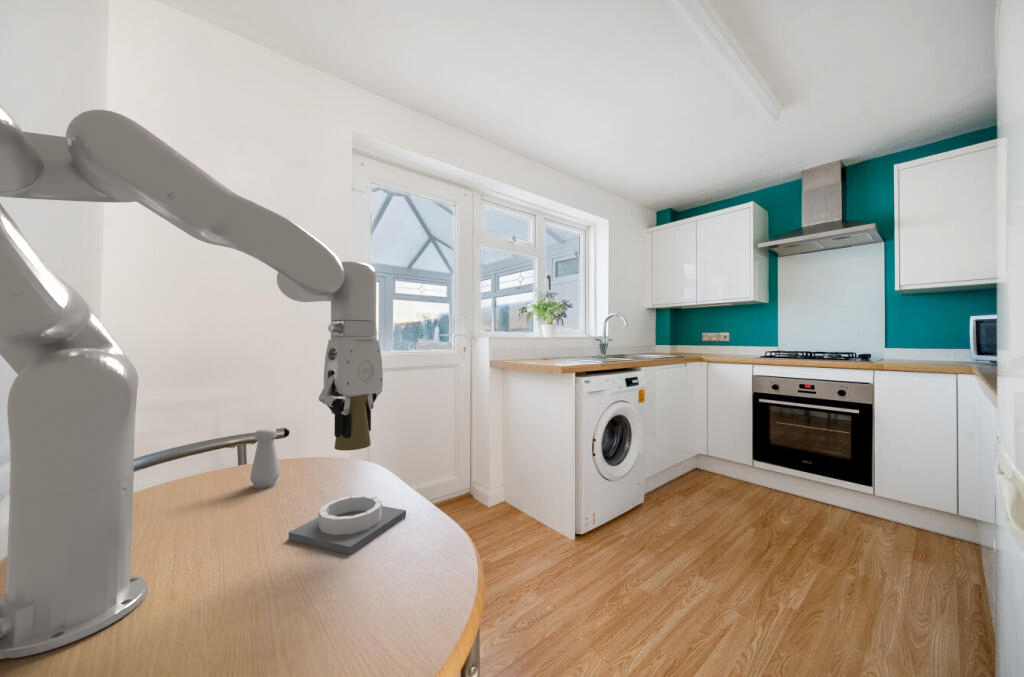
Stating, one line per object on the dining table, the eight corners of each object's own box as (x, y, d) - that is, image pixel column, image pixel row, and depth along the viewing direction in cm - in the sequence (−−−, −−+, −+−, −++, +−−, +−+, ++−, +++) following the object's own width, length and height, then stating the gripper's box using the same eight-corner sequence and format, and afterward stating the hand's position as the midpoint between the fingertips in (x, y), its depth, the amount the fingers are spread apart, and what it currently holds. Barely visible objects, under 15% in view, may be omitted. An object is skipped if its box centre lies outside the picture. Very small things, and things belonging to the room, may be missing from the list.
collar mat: (350, 554, 57) (350, 530, 57) (288, 539, 62) (288, 517, 62) (405, 516, 70) (406, 496, 70) (351, 506, 75) (352, 487, 75)
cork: (376, 441, 69) (377, 382, 70) (360, 450, 63) (360, 386, 64) (346, 441, 70) (346, 382, 70) (326, 450, 64) (327, 385, 64)
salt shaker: (284, 484, 87) (285, 428, 88) (257, 491, 82) (258, 432, 83) (272, 479, 90) (273, 425, 91) (245, 486, 85) (246, 429, 86)
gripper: (332, 329, 58) (331, 447, 58) (400, 333, 74) (400, 426, 73) (297, 330, 61) (296, 443, 60) (369, 333, 76) (369, 423, 76)
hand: (353, 432), depth 67 cm, fingers closed on cork, 4 cm apart
